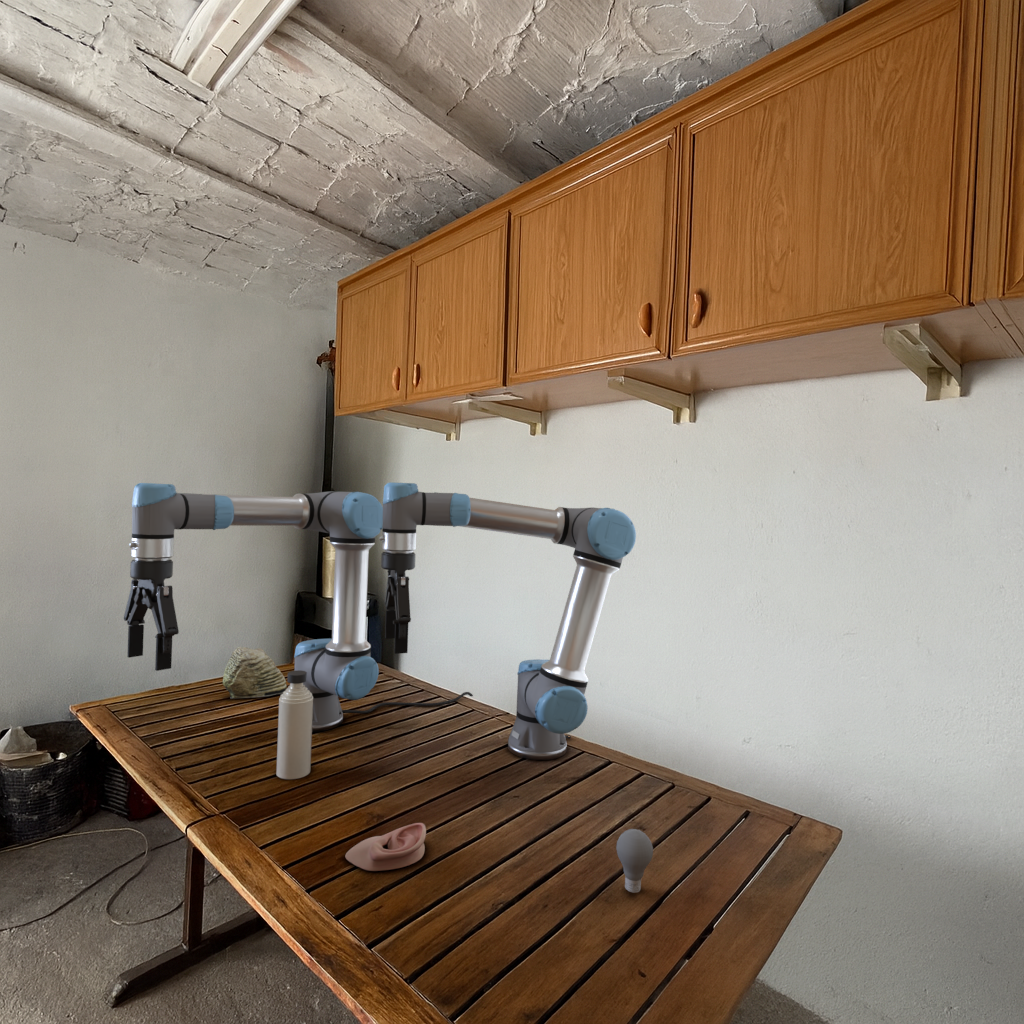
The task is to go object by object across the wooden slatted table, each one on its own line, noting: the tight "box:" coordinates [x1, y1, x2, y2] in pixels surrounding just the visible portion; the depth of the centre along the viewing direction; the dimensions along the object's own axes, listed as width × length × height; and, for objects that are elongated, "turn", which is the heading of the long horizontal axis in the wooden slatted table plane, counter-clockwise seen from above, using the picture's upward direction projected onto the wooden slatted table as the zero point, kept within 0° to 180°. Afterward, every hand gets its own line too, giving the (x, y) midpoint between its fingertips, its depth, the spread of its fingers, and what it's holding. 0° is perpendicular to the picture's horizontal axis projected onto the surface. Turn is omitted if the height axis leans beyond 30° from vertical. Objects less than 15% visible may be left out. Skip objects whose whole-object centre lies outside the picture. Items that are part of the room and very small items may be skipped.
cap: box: [286, 670, 307, 684], centre depth 145 cm, size 4×4×2 cm
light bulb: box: [615, 828, 654, 894], centre depth 106 cm, size 6×6×10 cm
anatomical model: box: [344, 822, 427, 872], centre depth 113 cm, size 13×4×12 cm
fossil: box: [222, 646, 288, 699], centre depth 198 cm, size 9×18×15 cm, turn 132°
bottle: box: [275, 683, 313, 780], centre depth 145 cm, size 7×7×22 cm
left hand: (148, 662), depth 129 cm, fingers open, 13 cm apart
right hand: (395, 645), depth 143 cm, fingers open, 13 cm apart
